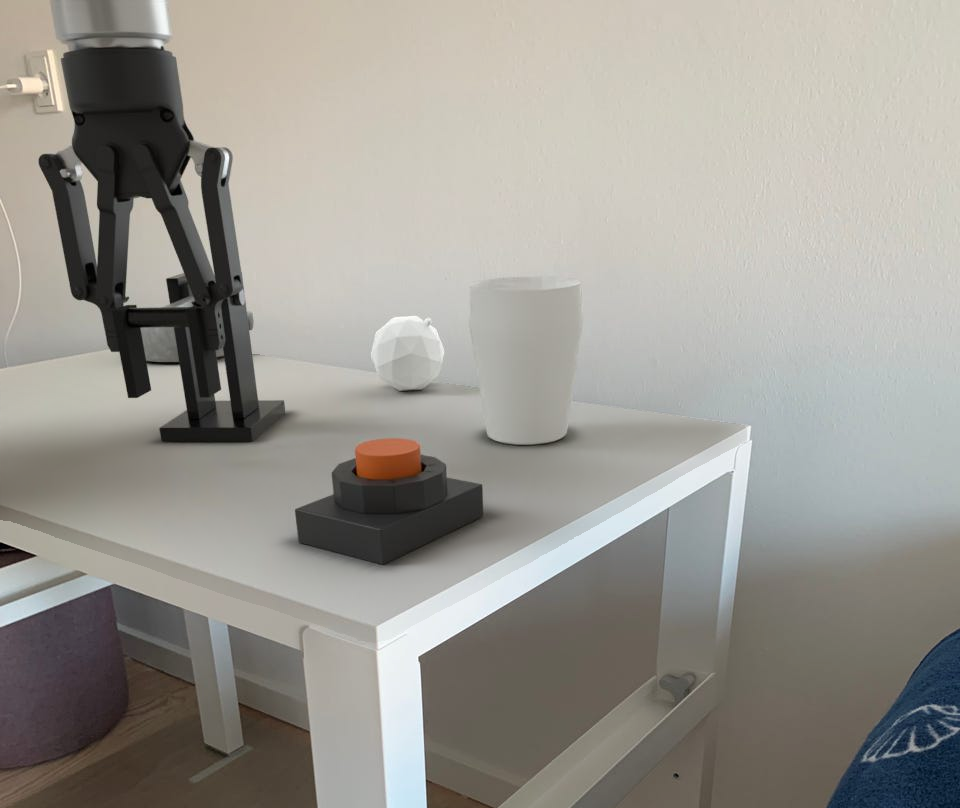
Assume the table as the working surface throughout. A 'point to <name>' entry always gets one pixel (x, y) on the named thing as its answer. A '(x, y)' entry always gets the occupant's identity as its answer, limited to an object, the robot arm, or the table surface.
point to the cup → (526, 355)
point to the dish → (169, 343)
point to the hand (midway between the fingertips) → (175, 393)
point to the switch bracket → (244, 410)
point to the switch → (161, 315)
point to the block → (388, 512)
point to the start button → (388, 458)
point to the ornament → (407, 353)
